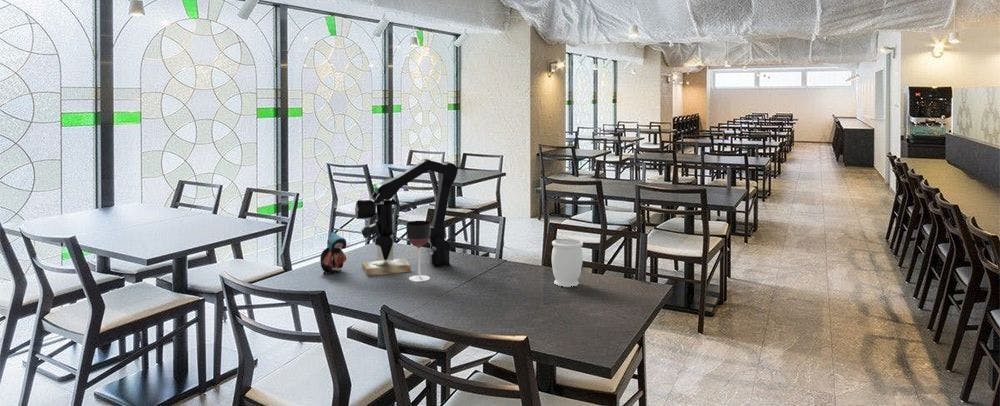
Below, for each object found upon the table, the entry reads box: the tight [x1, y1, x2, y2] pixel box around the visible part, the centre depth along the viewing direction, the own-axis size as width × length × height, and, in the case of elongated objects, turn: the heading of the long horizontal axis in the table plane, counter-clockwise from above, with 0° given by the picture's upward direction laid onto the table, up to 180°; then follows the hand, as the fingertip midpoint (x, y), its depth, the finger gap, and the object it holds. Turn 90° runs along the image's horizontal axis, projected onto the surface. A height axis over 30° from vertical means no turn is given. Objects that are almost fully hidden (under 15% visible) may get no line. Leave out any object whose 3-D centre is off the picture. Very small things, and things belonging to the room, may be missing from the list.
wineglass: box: [406, 220, 431, 282], centre depth 227 cm, size 8×9×20 cm
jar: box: [551, 238, 584, 288], centre depth 221 cm, size 11×10×15 cm
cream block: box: [376, 244, 395, 266], centre depth 235 cm, size 6×6×7 cm
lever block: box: [361, 257, 412, 277], centre depth 238 cm, size 16×10×3 cm, turn 112°
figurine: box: [319, 230, 348, 276], centre depth 234 cm, size 10×7×15 cm
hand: (385, 258), depth 238 cm, fingers open, 4 cm apart
